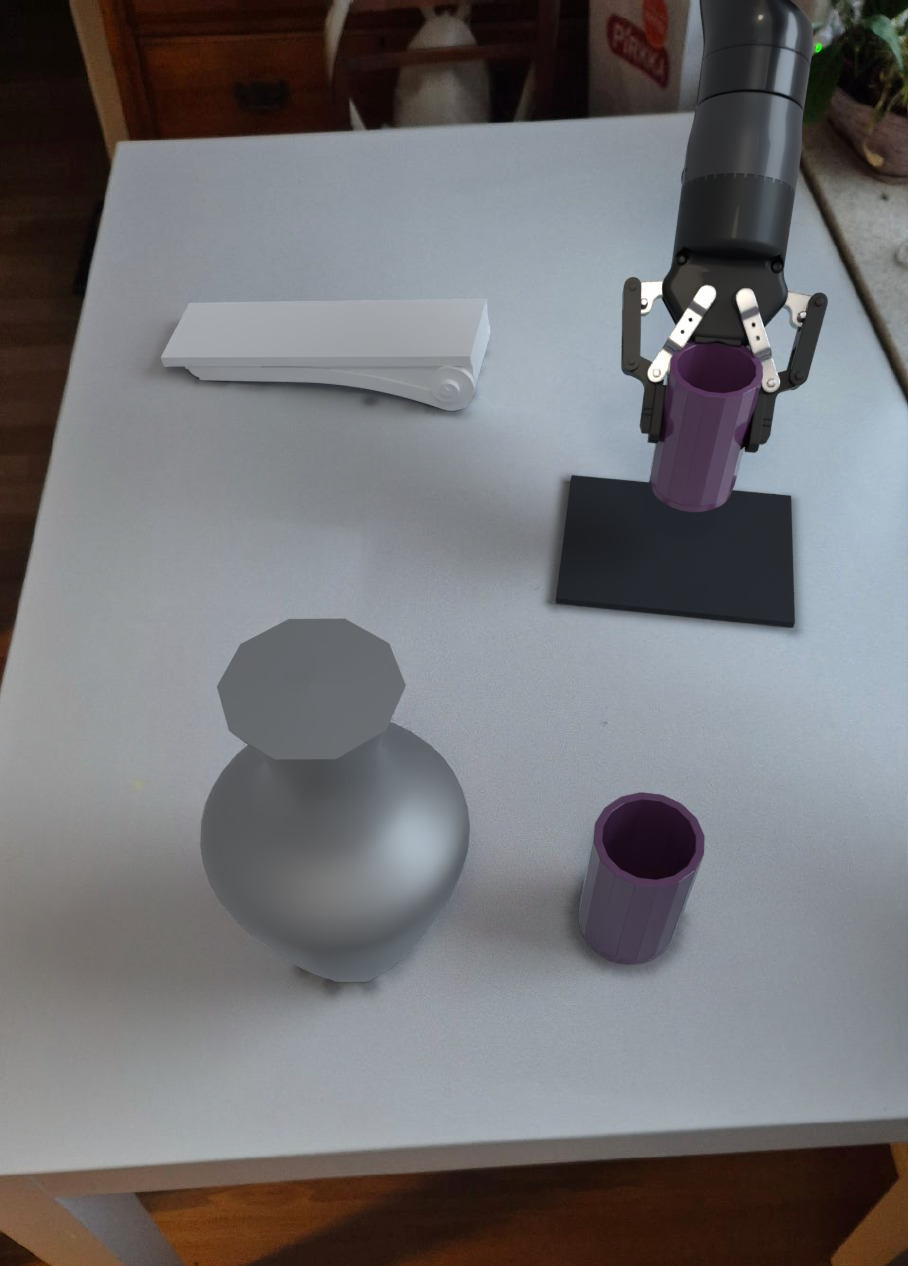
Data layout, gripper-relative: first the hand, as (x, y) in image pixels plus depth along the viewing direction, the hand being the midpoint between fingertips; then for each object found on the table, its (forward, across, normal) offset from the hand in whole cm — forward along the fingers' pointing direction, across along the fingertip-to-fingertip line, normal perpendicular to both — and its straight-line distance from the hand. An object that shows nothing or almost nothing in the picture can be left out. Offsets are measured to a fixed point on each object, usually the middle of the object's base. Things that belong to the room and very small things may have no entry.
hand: (702, 445), depth 80 cm
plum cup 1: (+31, -2, -14) cm, 34 cm away
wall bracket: (-6, -32, +23) cm, 40 cm away
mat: (+7, 0, +9) cm, 12 cm away
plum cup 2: (+2, 0, +5) cm, 5 cm away
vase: (+33, -19, -17) cm, 42 cm away
